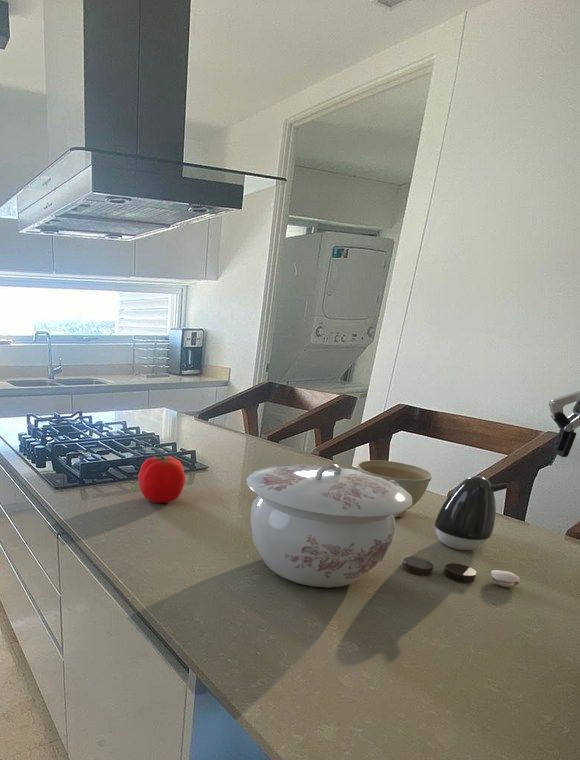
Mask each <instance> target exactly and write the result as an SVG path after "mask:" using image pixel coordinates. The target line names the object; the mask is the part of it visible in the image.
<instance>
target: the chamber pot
mask: <svg viewBox="0 0 580 760" xmlns="http://www.w3.org/2000/svg"><path fill="white" fill-rule="evenodd" d="M246 483H247V487H248V488H249V489H250V490H252V492H254V493H255V494H256V495H257V496H256V497H255V499H253V502H251V504H250V505H251V507H250V513H249V517H250V529H251V530H250V531H251V538H252V544H253V545H254V547H255V549H256V551H257V552H258V555H259V557H260V559H261V560H262V562H263V563H264V564H265V565H266V567H268V569H269V570H270V571H271V572H273V573H275V574H276V575H278V576H279V577H281V578H283V579H286V580H288V581H291V582H293V583H296V584H301V585H304V586H307V587H308V586H309V587H317V588H327V589H329V588H340V587H345V586H348V585H351V584H354V583H357V582H358V581H359V580H360V579H362V578H363V577H364V576H365V575H367V574H368V573H369V572H370V571H371V570H372V569H374V568H375V567H376V566H377V565H379V564H380V563H381V562H382V561H383V559H384V557H385V556H386V554H387V552H388V550H389V548H390V546H391V544H392V542H393V538H394V535H395V533H396V518H397V517H396V516H397V515H398V514H399V513H401V512H403V511H404V510H406V509H407V508H409V507H410V506H412V496H411V495H410V494H409V493H408V492H407V491H406V490H405V489H403V488H402V487H401V486H400V484H398V483H397V482H396V481H394V480H389V481H388V480H386V479H383V478H380V477H377V476H374V475H371V474H368V473H365V472H361V471H358V470H355V469H351V468H348V467H347V468H346V467H341V466H340V465H338V464H335V463H327V464H311V463H295V464H294V463H293V464H292V463H291V464H289V463H288V464H281V465H273V466H266V467H263V468H260V469H257V470H254V471H253V472H252V473H251V474H250V475H249V476H248V477H247V478H246ZM412 507H413V506H412ZM409 509H410V508H409ZM406 511H407V510H406Z"/></svg>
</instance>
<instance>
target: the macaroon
mask: <svg viewBox="0 0 580 760" xmlns="http://www.w3.org/2000/svg"><path fill="white" fill-rule="evenodd" d="M490 579H491V581H492V582H493V583H495V584H496V585H498V586H499V587H503V588H514V587H516V586H518V585H519V582H520V581H521V578H520V577H519V576H518V575H517V574H515V573H513V572H511V571H506V570H499V569H492V570H491V571H490Z"/></svg>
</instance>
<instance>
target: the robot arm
mask: <svg viewBox="0 0 580 760" xmlns="http://www.w3.org/2000/svg"><path fill="white" fill-rule="evenodd" d="M573 403H574V404H573ZM570 404H573V405H572V406H573V407H572V413H571V414H570V415H568V416H566V414H565V413H564V408H565V406H567V405H570ZM548 406H549V407H548V408H549V410H550V414H551V415H550V416H551V418H552V420H553V421H554V422H555V424H556V425H557V427H558V428H559V431H558V434H557V437H556V439H555V442H554V445H553V450H554V454H556V455H557V456H559V457H560V458H567V457H568V456H569V455H570V452H571V450H572V447H573V444H574V442H575V440H576V436H577V432H576V431H575V430H577V428H580V390H576V391H574V392H572V393H568V394H564V395H562V396H559V397H555V398H552V399H551V400H549V401H548Z"/></svg>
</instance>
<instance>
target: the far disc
mask: <svg viewBox="0 0 580 760" xmlns="http://www.w3.org/2000/svg"><path fill="white" fill-rule="evenodd" d="M401 568H402V569H403V570H404V571H406V572H407V573H409V574H413V575H415V576H416V575H417V576H422V577H424V576H425V577H427V576H430V575H431V574H432V572H433V569H434V564H433V563H432V562H431V561H430V560H427V559H424V558H423V557H422V558H421V557H417V556H407V557H405V558H403V561H402V565H401Z"/></svg>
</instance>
